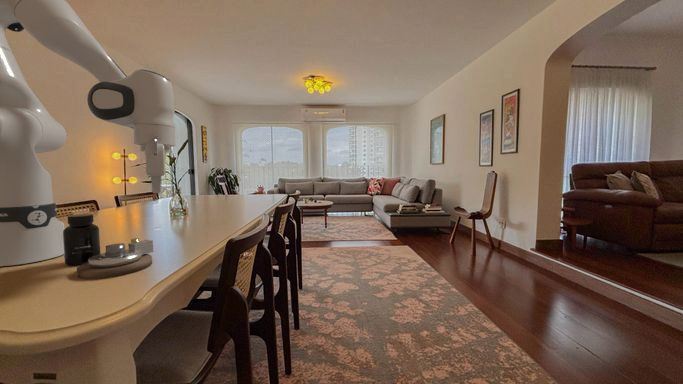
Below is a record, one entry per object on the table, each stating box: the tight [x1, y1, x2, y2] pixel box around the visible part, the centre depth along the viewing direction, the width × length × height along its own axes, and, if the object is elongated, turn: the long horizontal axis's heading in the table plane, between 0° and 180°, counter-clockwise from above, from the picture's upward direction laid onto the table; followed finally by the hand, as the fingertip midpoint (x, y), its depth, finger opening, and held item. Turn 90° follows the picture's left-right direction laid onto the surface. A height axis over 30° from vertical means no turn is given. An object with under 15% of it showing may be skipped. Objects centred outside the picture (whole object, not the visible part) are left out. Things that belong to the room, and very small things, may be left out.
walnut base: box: [76, 237, 153, 280], centre depth 69 cm, size 14×14×6 cm
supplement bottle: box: [63, 213, 101, 267], centre depth 73 cm, size 7×7×12 cm
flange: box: [88, 239, 154, 267], centre depth 70 cm, size 13×10×4 cm
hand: (156, 193), depth 75 cm, fingers closed
